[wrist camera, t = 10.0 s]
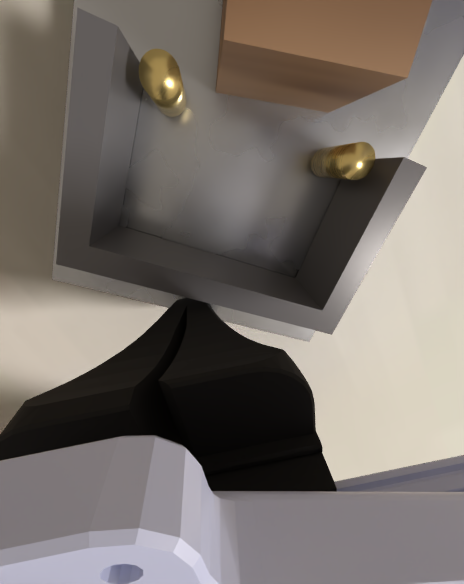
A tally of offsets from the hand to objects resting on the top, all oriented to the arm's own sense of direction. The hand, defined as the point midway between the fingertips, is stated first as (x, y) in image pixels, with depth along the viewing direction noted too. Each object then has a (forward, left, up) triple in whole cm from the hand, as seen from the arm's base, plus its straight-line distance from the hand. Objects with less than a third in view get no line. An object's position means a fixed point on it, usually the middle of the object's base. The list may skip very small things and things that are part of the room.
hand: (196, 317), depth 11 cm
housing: (-5, 0, -1) cm, 5 cm away
